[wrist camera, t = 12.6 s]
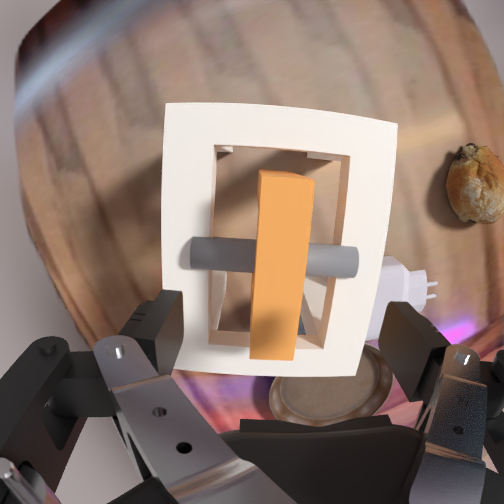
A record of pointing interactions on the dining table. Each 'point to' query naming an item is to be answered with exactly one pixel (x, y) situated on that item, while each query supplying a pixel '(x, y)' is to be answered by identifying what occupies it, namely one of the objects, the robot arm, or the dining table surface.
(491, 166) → the bread roll
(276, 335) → the orange arch block
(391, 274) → the charger
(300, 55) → the dining table surface
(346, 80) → the dining table surface
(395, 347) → the robot arm
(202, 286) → the white square table frame
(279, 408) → the plant saucer
